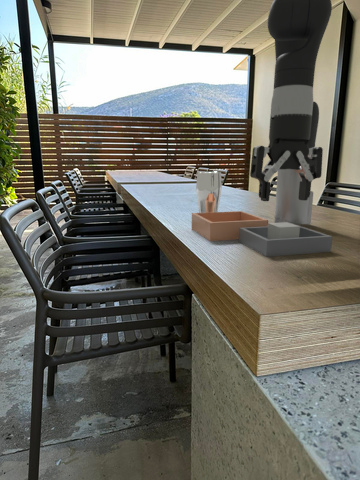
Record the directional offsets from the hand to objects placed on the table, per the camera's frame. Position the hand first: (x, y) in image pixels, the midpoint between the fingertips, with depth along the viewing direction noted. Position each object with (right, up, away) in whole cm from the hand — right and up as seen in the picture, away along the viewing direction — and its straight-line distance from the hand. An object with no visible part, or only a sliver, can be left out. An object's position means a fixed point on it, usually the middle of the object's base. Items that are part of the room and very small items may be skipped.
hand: (284, 200), depth 67 cm
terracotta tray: (-9, -7, +15) cm, 19 cm away
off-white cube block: (0, -9, +2) cm, 9 cm away
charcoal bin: (0, -10, +3) cm, 10 cm away
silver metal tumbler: (-13, -4, +28) cm, 31 cm away
